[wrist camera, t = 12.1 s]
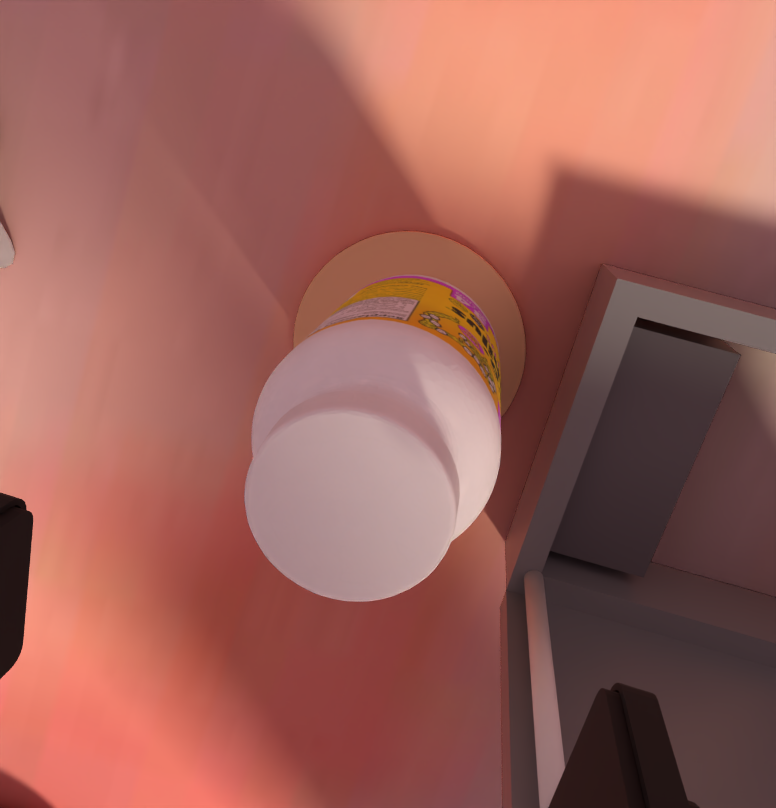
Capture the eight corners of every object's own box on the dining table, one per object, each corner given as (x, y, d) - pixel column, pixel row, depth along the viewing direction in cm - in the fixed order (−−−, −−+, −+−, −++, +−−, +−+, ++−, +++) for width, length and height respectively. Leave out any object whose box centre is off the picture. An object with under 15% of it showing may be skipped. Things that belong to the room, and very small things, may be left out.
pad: (557, 266, 26) (557, 267, 25) (487, 481, 29) (487, 485, 28) (320, 203, 26) (318, 204, 26) (277, 421, 29) (274, 425, 29)
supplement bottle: (511, 425, 27) (523, 634, 15) (348, 446, 29) (242, 653, 17) (486, 254, 25) (476, 340, 13) (312, 285, 27) (162, 389, 15)
